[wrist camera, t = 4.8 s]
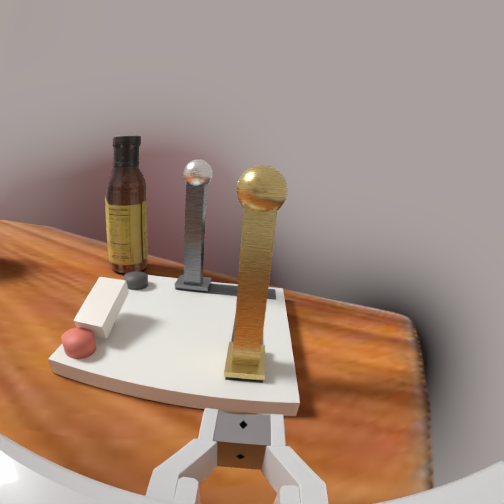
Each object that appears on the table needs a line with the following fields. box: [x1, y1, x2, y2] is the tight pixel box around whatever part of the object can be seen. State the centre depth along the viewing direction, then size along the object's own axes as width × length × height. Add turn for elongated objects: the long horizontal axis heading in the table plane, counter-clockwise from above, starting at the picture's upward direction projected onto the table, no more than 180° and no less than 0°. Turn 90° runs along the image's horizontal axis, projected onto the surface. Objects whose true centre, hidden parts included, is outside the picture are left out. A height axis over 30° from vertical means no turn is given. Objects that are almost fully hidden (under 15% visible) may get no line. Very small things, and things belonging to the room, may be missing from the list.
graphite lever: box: [175, 160, 212, 291], centre depth 34 cm, size 4×3×15 cm
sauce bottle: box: [105, 135, 148, 274], centre depth 40 cm, size 7×6×20 cm
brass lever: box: [224, 165, 287, 380], centre depth 20 cm, size 3×4×15 cm
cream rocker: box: [74, 277, 129, 339], centre depth 25 cm, size 3×6×2 cm, turn 179°
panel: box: [48, 271, 300, 416], centre depth 28 cm, size 20×20×3 cm
